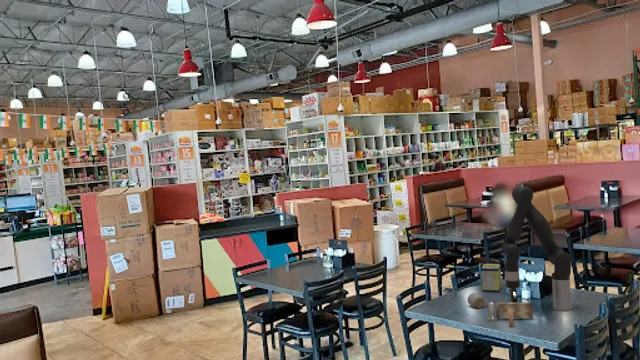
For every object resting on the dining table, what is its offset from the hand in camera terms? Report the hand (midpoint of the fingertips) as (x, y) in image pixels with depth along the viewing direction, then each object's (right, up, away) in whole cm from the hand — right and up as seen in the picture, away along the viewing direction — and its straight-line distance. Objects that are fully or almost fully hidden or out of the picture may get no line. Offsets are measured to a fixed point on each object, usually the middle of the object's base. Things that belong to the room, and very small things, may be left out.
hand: (514, 308), depth 296 cm
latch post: (-9, -4, -20) cm, 22 cm away
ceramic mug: (-15, -3, +17) cm, 23 cm away
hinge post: (-15, -4, -7) cm, 17 cm away
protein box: (+5, 0, +52) cm, 52 cm away
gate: (-3, -2, -10) cm, 11 cm away
